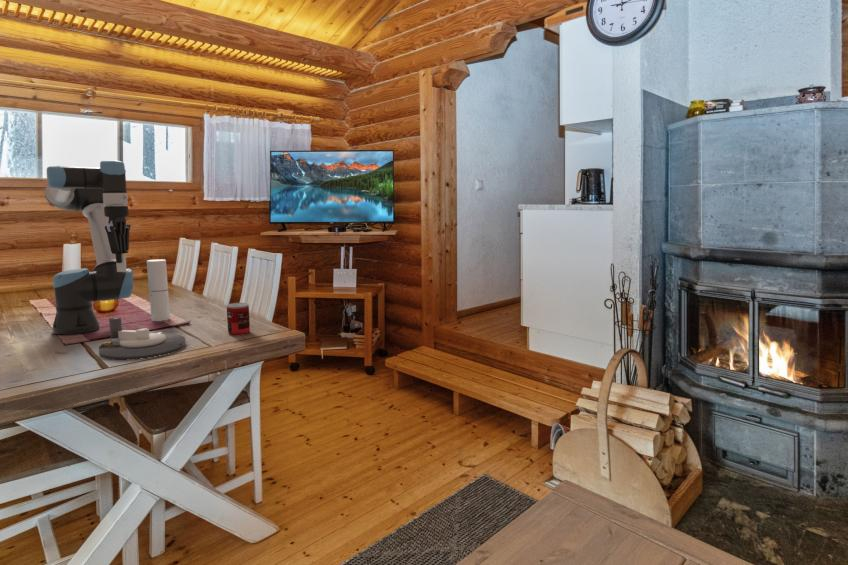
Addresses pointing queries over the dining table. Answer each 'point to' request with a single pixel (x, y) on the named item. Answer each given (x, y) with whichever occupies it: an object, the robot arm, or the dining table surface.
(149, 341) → the dial
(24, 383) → the dining table surface
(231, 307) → the canned food
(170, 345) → the dial plate
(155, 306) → the cylindrical container
